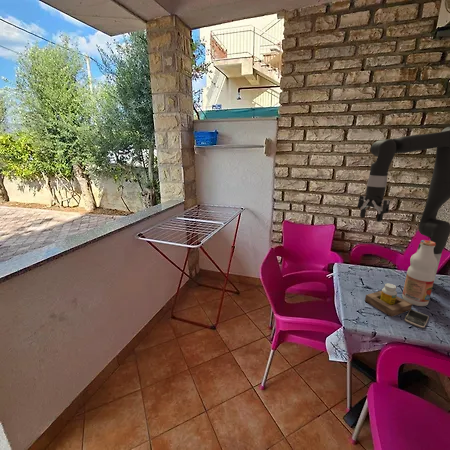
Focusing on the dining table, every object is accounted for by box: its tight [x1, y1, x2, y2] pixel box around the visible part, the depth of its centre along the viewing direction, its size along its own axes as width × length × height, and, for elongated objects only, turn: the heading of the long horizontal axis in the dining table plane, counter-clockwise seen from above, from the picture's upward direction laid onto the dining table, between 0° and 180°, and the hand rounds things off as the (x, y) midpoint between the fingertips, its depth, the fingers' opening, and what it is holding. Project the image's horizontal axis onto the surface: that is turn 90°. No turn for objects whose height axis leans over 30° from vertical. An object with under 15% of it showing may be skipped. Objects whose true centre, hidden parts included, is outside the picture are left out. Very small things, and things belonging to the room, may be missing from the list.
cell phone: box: [404, 308, 430, 329], centre depth 96 cm, size 6×11×1 cm, turn 132°
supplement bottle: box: [380, 283, 398, 305], centre depth 103 cm, size 5×5×10 cm
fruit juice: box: [401, 239, 439, 307], centre depth 105 cm, size 9×9×28 cm
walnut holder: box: [364, 290, 413, 318], centre depth 104 cm, size 12×12×3 cm
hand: (370, 219), depth 116 cm, fingers open, 8 cm apart
